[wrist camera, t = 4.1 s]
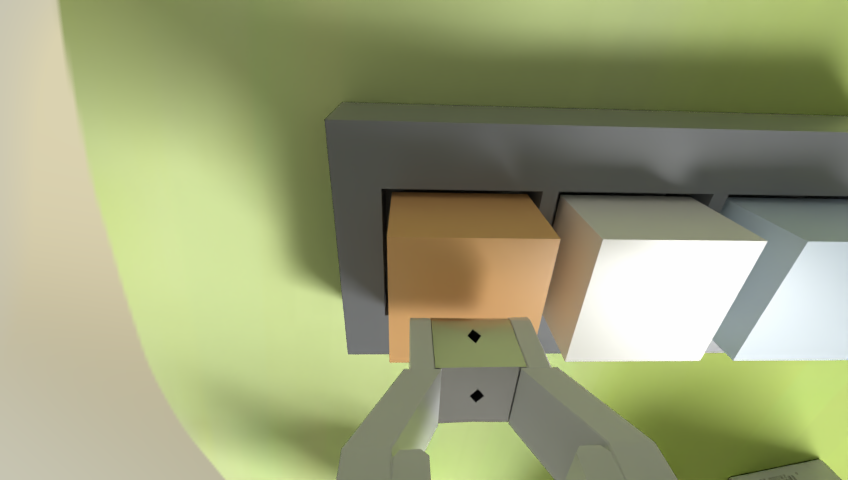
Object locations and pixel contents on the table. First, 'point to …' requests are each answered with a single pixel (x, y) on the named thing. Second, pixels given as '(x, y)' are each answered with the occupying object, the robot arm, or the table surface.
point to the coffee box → (793, 472)
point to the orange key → (465, 259)
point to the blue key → (791, 282)
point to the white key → (643, 277)
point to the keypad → (553, 171)
